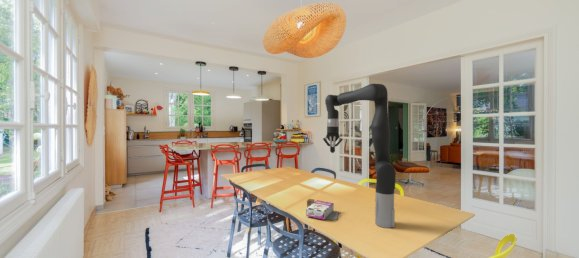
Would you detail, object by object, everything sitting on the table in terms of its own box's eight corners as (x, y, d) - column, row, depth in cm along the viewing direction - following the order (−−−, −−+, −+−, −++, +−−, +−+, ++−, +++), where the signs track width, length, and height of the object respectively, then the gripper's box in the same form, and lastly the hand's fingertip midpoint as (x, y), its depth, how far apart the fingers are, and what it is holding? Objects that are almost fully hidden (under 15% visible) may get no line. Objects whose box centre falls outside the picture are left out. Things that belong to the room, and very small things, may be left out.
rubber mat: (338, 212, 144) (338, 211, 144) (336, 220, 132) (336, 219, 132) (312, 209, 149) (312, 208, 149) (308, 216, 137) (308, 215, 137)
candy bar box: (317, 207, 150) (305, 216, 136) (317, 200, 150) (305, 207, 136) (334, 211, 145) (323, 220, 131) (334, 203, 145) (324, 211, 131)
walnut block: (314, 205, 157) (314, 199, 157) (312, 207, 153) (312, 201, 153) (308, 204, 158) (308, 198, 158) (306, 206, 154) (306, 200, 154)
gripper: (321, 125, 152) (321, 152, 152) (342, 126, 148) (342, 153, 148) (323, 125, 159) (323, 151, 159) (343, 126, 155) (343, 152, 156)
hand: (332, 152), depth 154 cm, fingers closed
